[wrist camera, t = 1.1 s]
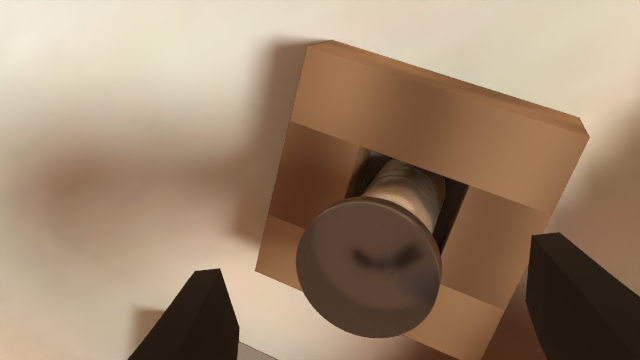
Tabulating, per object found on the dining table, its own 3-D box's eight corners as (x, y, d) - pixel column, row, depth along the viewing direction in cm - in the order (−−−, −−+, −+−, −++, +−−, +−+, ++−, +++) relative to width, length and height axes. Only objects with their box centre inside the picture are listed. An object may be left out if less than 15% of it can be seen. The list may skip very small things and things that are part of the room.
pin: (478, 159, 21) (461, 240, 14) (442, 249, 23) (411, 360, 16) (377, 124, 22) (314, 184, 15) (349, 213, 24) (282, 303, 17)
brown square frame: (579, 117, 19) (589, 137, 17) (481, 324, 23) (477, 367, 21) (332, 39, 22) (307, 46, 19) (281, 242, 26) (254, 270, 23)
